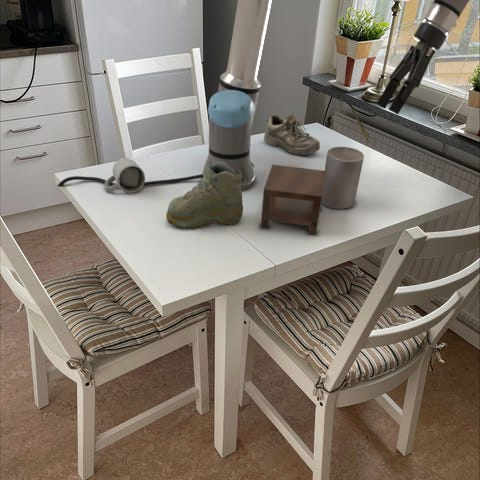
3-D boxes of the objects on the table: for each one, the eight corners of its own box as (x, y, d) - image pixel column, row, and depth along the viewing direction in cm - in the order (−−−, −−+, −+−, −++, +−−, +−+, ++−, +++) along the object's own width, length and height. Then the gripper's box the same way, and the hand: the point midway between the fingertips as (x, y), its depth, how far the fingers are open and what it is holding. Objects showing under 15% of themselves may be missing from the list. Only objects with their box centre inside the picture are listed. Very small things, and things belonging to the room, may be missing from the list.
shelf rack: (260, 227, 128) (263, 189, 121) (269, 201, 140) (272, 164, 133) (315, 235, 127) (322, 196, 120) (319, 207, 138) (325, 170, 131)
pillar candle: (326, 190, 146) (334, 139, 137) (358, 198, 143) (369, 146, 133) (314, 204, 139) (322, 151, 130) (348, 213, 136) (359, 159, 127)
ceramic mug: (137, 178, 147) (134, 152, 142) (146, 190, 141) (144, 164, 136) (101, 185, 143) (97, 158, 138) (109, 197, 138) (105, 170, 133)
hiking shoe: (308, 155, 160) (319, 116, 157) (254, 144, 170) (264, 108, 168) (320, 162, 167) (331, 125, 165) (268, 151, 178) (278, 116, 176)
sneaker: (170, 206, 134) (168, 153, 124) (242, 211, 135) (246, 159, 124) (164, 230, 127) (161, 176, 116) (241, 236, 127) (245, 182, 116)
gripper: (465, 35, 119) (411, 121, 128) (430, 37, 140) (386, 110, 150) (439, 18, 117) (386, 107, 126) (408, 22, 139) (365, 97, 148)
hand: (386, 109), depth 138 cm, fingers open, 13 cm apart
